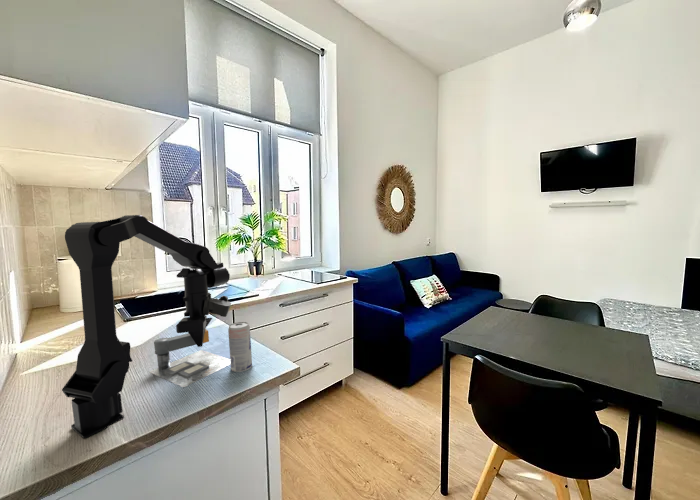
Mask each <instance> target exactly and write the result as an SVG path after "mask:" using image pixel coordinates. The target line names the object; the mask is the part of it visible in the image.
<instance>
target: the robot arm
mask: <svg viewBox="0 0 700 500" xmlns="http://www.w3.org/2000/svg"><path fill="white" fill-rule="evenodd" d="M65 230H66V231H65V232H64V239H65V240H64V241H65V245H66V246H67V247H66V248H67V250H68V254H69V256H70V257H71V258H72V260H73V262H74V263H75V265H76V266H77V267H78V269H79V278H80V279H79V281H80V293H81V303H82V305H81V307H82V317H83V328H84V330H83V331H84V343H83V344H82V347H81V348H80V350H79V351H78V355H77V359H76V360H77V361H76V368H75V371H74V373H73V374H72V375H71V376H70V378H69V379H68V381H66V383H65V384H64V385H63V387H62V389H61V392H62V393H63V394H64V395H65V396H66V397H67V398H72V399H71V407H72V414H73V422H74V423H72V424H71V429H72V430H73V431H74V432H75V433H77V434H78V435H79V436H80V437H81V438H82V439H88V438H89V437H91V436H93V435H95V434H98V433H99V432H101V431H103V430H105V429H107V428H108V427H109V426H112V425H113V424H115V423H117V422H119V421H121V420H123V419H124V418H125V417H124V416H125V415H123V414H122V413H123V404H122V395H121V393H120V392H122V391H123V387H124V382H125V380H126V375H127V373H128V372H129V370H130V363H133V359H132V357H131V343H130V342H127V341H121V340H120V339H119V338H118V335H117V327H116V325H117V323H116V313H115V312H116V311H115V310H116V309H115V300H114V299H115V298H114V286H113V285H114V284H113V283H114V281H113V271H112V270H113V269H112V267H113V265H114V262H115V261H116V259H117V257H118V255H119V252H120V244H121V243H122V242H125V241H128V240H130V239H131V238H133V237H135V238H137V239H138V240H141V241H143V242H144V243H147V244H149V245H151V246H152V247H155V248H157V249H159V250H161V251H163V252H166V253H167V254H168V255H170V256H171V257H172V259H173V261H175V262H176V263H177V264H179V265H180V266H182V267H183V268H181V270H180V271H179V272H178V274H176V275H175V276H176V278H180V279H183V283H184V296H183V297H182V300H183V303H184V302H185V311H184V312H183V315H184V317H183V318H182V319H181V320H180V321H179V322H178V323H177V324H176V326H175V327H176V329H175V331H176V333H177V334H181V333H182V334H183V333H185V334H186V333H187V334H188V333H189V334H190V336H191V337H192V339H193V340H194V342H195V343H196V346H197V347H198V348H201V347H203V346H204V345H203V344H204V343H203V340H204V335H205V329H207V327H208V326H209V325H210V322H211V321H212V319H213V317H208V315H209V314H213V315H218V316H220V317H222V318H223V317H225V318H226V317H227V316H228V314H229V310H230V309H231V308H230V307H231V305H232V303H231V301H229V299H228V296H227V295H221V296H220V297H219V298H215V297H214V298H213V297H212V293H211V292H209V289H211V288H215V287H216V288H217V287H218V286H223V285H225V284H227V283H228V282H229V280H230V277H231V275H230V273H229V270H228V269H227V267H225V266H224V263H223V262H216V261H215V259H214V258H213V256H212V254H211V253H210V250H209V248H208V247H207V246H204V245H201V244H199V243H194V242H189V241H186V240H184V239H182V238H180V237H178V236H176V235H174V234H173V233H171V232H169V231H167V230H165V229H164V228H163V227H161V226H159V225H157V224H155V223H154V222H151V221H150V220H148V218H146V216H144V215H141V214H129V215H127V214H126V215H122V216H120V217H117V218H113V219H109V220H103V221H85V222H84V221H83V222H76V223H74V224H72V225H71V226H69V227H68V228H66V229H65ZM184 267H185V268H184Z"/></svg>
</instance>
